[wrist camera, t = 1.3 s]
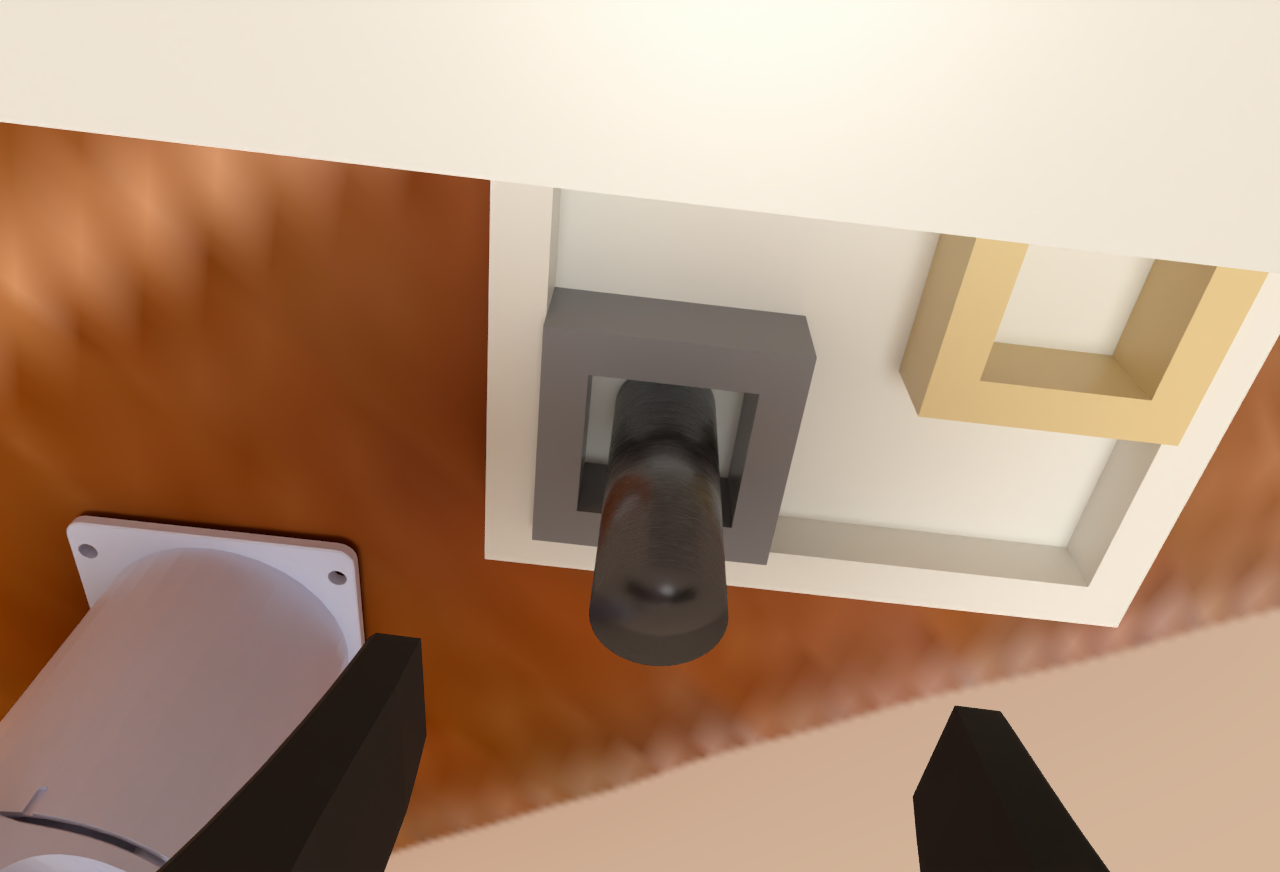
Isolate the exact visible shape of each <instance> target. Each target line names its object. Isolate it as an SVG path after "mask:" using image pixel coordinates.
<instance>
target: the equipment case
mask: <svg viewBox="0 0 1280 872" xmlns="http://www.w3.org/2000/svg"><path fill="white" fill-rule="evenodd" d="M0 122H6V123H14V124H23V125H31V126H40V127H48V128H57V129H65V130H73V131H82V132H90V133H99V134H107V135H116V136H124V137H132V138H141V139H149V140H158V141H166V142H175V143H183V144H191V145H200V146H208V147H217V148H225V149H234V150H242V151H250V152H259V153H267V154H276V155H284V156H293V157H301V158H309V159H318V160H326V161H335V162H343V163H351V164H360V165H368V166H377V167H385V168H394V169H402V170H410V171H419V172H427V173H436V174H444V175H453V176H461V177H469V178H478V179H486V180H490V242H489V306H488V370H487V435H486V499H485V559H490V560H499V561H509V562H518V563H527V564H536V565H545V566H555V567H564V568H573V569H582V570H592V571H594V569H595V561H596V553H597V545H598V537H599V529H600V522H601V514H602V506H603V498H604V490H605V482H606V474H607V466H608V458H609V450H610V442H611V434H612V426H613V418H614V410H615V403H616V397H617V394H618V392H619V390H620V388H621V386H622V385H623V383H624V382H625V381H626V380H627V379H629V380H637V381H646V382H655V383H664V384H673V385H681V386H690V387H699V388H708V389H711V391H712V393H713V395H714V399H715V405H716V421H717V438H718V455H719V471H720V488H721V504H722V521H723V538H724V554H725V571H726V585H730V586H739V587H748V588H758V589H767V590H776V591H785V592H794V593H804V594H813V595H822V596H831V597H841V598H850V599H859V600H868V601H877V602H887V603H896V604H905V605H914V606H924V607H933V608H942V609H951V610H960V611H970V612H979V613H988V614H997V615H1007V616H1016V617H1025V618H1034V619H1044V620H1053V621H1062V622H1071V623H1080V624H1090V625H1099V626H1108V627H1118V625H1119V623H1120V621H1121V619H1122V618H1123V616H1124V614H1125V612H1126V610H1127V609H1128V607H1129V605H1130V603H1131V601H1132V600H1133V598H1134V596H1135V594H1136V592H1137V591H1138V589H1139V587H1140V585H1141V583H1142V581H1143V580H1144V578H1145V576H1146V574H1147V572H1148V571H1149V569H1150V567H1151V565H1152V563H1153V562H1154V560H1155V558H1156V556H1157V554H1158V553H1159V551H1160V549H1161V547H1162V545H1163V544H1164V542H1165V540H1166V538H1167V536H1168V535H1169V533H1170V531H1171V529H1172V527H1173V526H1174V524H1175V522H1176V520H1177V518H1178V517H1179V515H1180V513H1181V511H1182V509H1183V508H1184V506H1185V504H1186V502H1187V500H1188V499H1189V497H1190V495H1191V493H1192V491H1193V489H1194V488H1195V486H1196V484H1197V482H1198V480H1199V479H1200V477H1201V475H1202V473H1203V471H1204V470H1205V468H1206V466H1207V464H1208V462H1209V461H1210V459H1211V457H1212V455H1213V453H1214V452H1215V450H1216V448H1217V446H1218V444H1219V443H1220V441H1221V439H1222V437H1223V435H1224V434H1225V432H1226V430H1227V428H1228V426H1229V425H1230V423H1231V421H1232V419H1233V417H1234V416H1235V414H1236V412H1237V410H1238V408H1239V407H1240V405H1241V403H1242V401H1243V399H1244V397H1245V396H1246V394H1247V392H1248V390H1249V388H1250V387H1251V385H1252V383H1253V381H1254V379H1255V378H1256V376H1257V374H1258V372H1259V370H1260V369H1261V367H1262V365H1263V363H1264V361H1265V360H1266V358H1267V356H1268V354H1269V352H1270V351H1271V349H1272V347H1273V345H1274V343H1275V342H1276V340H1277V338H1278V336H1279V334H1280V0H0Z"/></svg>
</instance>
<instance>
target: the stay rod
mask: <svg viewBox="0 0 1280 872" xmlns="http://www.w3.org/2000/svg"><path fill="white" fill-rule="evenodd" d="M589 618H590V623H591V626H592V629H593V631H594V633H595V635H596V636H597V638H598V639H599V640H600V642H601V643H602V644H603V645H604V646H605V647H607V648H608V649H609V650H610V651H612V652H613V653H615V654H616V655H618V656H620V657H622V658H624V659H627V660H629V661H632V662H636V663H640V664H644V665H652V666H670V665H677V664H682V663H686V662H689V661H692V660H694V659H696V658H699V657H701V656H702V655H704V654H706V653H707V652H709V651H710V650H711V649H712V648H714V647H715V645H716V644H717V643H718V642H719V641H720V640H721V638H722V637H723V635H724V633H725V631H726V628H727V624H728V604H727V587H726V571H725V554H724V538H723V521H722V504H721V488H720V471H719V455H718V438H717V421H716V405H715V399H714V395H713V393H712V391H711V389H708V388H699V387H690V386H681V385H673V384H664V383H655V382H646V381H637V380H629V379H627V380H626V381H625V382H624V383H623V385H622V386H621V388H620V390H619V392H618V394H617V397H616V403H615V410H614V418H613V426H612V434H611V442H610V450H609V458H608V466H607V474H606V482H605V490H604V498H603V506H602V514H601V522H600V529H599V537H598V545H597V553H596V561H595V569H594V577H593V585H592V593H591V601H590V609H589Z"/></svg>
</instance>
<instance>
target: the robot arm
mask: <svg viewBox="0 0 1280 872" xmlns="http://www.w3.org/2000/svg"><path fill="white" fill-rule="evenodd" d="M67 537H68V540H69V543H70V546H71V549H72V552H73V556H74V559H75V562H76V565H77V568H78V572H79V575H80V578H81V581H82V584H83V588H84V591H85V594H86V597H87V600H88V603H89V607H90V610H89V611H88V613H87V614H86V615H85V616H84V618H83V619H82V620H81V621H80V623H79V624H78V625H77V626H76V628H75V629H74V630H73V632H72V633H71V634H70V635H69V637H68V638H67V639H66V640H65V642H64V643H63V644H62V645H61V647H60V648H59V649H58V650H57V652H56V653H55V654H54V655H53V657H52V658H51V659H50V660H49V662H48V663H47V664H46V665H45V667H44V668H43V669H42V670H41V672H40V673H39V674H38V675H37V677H36V678H35V679H34V680H33V682H32V683H31V684H30V685H29V687H28V688H27V689H26V691H25V692H24V693H23V694H22V696H21V697H20V698H19V699H18V701H17V702H16V703H15V704H14V706H13V707H12V708H11V709H10V711H9V712H8V713H7V714H6V716H5V717H4V718H3V719H2V721H1V722H0V872H384V870H385V868H386V865H387V862H388V860H389V857H390V854H391V852H392V849H393V846H394V844H395V841H396V838H397V836H398V833H399V830H400V828H401V825H402V822H403V819H404V817H405V814H406V811H407V808H408V804H409V801H410V797H411V793H412V790H413V786H414V782H415V778H416V775H417V771H418V767H419V763H420V759H421V755H422V751H423V747H424V743H425V739H426V719H425V702H424V684H423V667H422V650H421V639H420V638H412V637H404V636H396V635H388V634H380V633H375V634H374V635H372V636H370V637H369V638H368V639H367V640H366V642H365V638H364V626H363V614H362V603H361V591H360V580H359V568H358V558H357V555H356V553H355V552H354V550H353V549H352V548H350V547H348V546H347V545H345V544H341V543H334V542H325V541H316V540H306V539H297V538H288V537H279V536H270V535H260V534H251V533H242V532H233V531H223V530H214V529H205V528H196V527H187V526H177V525H168V524H159V523H150V522H140V521H131V520H122V519H113V518H104V517H94V516H79V517H77V518H75V519H74V520H73V521H72V523H71V524H70V525H69V526H68V528H67ZM90 545H91V546H93V547H94V548H92V547H91V546H90ZM334 571H339V572H342V573H343V574H344V575H345V576H342V575H339V574H337V573H336V572H334ZM913 803H914V815H915V826H916V837H917V846H918V855H919V863H920V872H1110V871H1109V870H1108V868H1107V867H1106V865H1105V864H1104V863H1103V861H1102V860H1101V859H1100V857H1099V856H1098V854H1097V853H1096V852H1095V850H1094V849H1093V847H1092V846H1091V845H1090V843H1089V842H1088V840H1087V839H1086V838H1085V836H1084V835H1083V833H1082V832H1081V830H1080V829H1079V827H1078V826H1077V825H1076V823H1075V822H1074V820H1073V819H1072V817H1071V816H1070V814H1069V813H1068V811H1067V810H1066V808H1065V807H1064V806H1063V804H1062V803H1061V801H1060V800H1059V798H1058V797H1057V795H1056V794H1055V792H1054V791H1053V789H1052V788H1051V786H1050V785H1049V783H1048V782H1047V780H1046V779H1045V777H1044V776H1043V774H1042V773H1041V771H1040V770H1039V768H1038V767H1037V765H1036V764H1035V762H1034V761H1033V759H1032V758H1031V756H1030V755H1029V753H1028V751H1027V750H1026V749H1025V747H1024V745H1023V744H1022V742H1021V741H1020V739H1019V738H1018V736H1017V735H1016V733H1015V732H1014V730H1013V729H1012V727H1011V726H1010V724H1009V723H1008V721H1007V720H1006V718H1005V717H1004V716H1003V714H1002V713H1001V712H1000V711H994V710H986V709H978V708H969V707H962V706H954V709H953V711H952V713H951V715H950V717H949V719H948V722H947V724H946V726H945V728H944V730H943V732H942V735H941V737H940V739H939V741H938V743H937V745H936V748H935V750H934V752H933V754H932V756H931V758H930V761H929V763H928V765H927V767H926V769H925V771H924V773H923V776H922V778H921V780H920V782H919V784H918V786H917V789H916V791H915V793H914V795H913Z"/></svg>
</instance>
